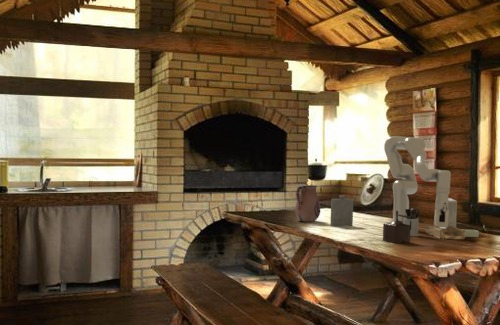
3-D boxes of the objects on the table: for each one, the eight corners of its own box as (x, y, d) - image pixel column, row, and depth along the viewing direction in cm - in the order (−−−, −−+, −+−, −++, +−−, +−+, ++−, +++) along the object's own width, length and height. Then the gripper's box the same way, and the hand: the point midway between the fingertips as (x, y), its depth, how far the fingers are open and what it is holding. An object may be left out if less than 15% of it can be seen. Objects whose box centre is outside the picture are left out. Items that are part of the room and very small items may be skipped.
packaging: (456, 233, 348) (457, 201, 348) (445, 232, 349) (446, 200, 349) (449, 228, 378) (450, 198, 378) (439, 227, 379) (440, 197, 379)
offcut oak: (445, 238, 326) (445, 234, 326) (441, 237, 331) (441, 233, 331) (453, 238, 327) (453, 234, 327) (450, 237, 332) (450, 233, 332)
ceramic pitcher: (324, 221, 395) (325, 185, 395) (310, 223, 377) (311, 186, 377) (301, 219, 404) (302, 184, 404) (287, 221, 387) (288, 185, 386)
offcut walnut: (444, 234, 327) (444, 231, 327) (443, 233, 331) (443, 230, 331) (451, 234, 326) (452, 231, 326) (451, 233, 330) (451, 230, 330)
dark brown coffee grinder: (396, 243, 295) (397, 209, 295) (382, 240, 305) (383, 207, 305) (418, 242, 303) (419, 208, 303) (403, 239, 312) (404, 206, 312)
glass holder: (421, 235, 332) (422, 210, 332) (408, 237, 323) (409, 210, 323) (408, 233, 339) (409, 208, 339) (395, 235, 329) (395, 209, 329)
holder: (458, 236, 333) (458, 230, 333) (453, 234, 340) (453, 229, 340) (479, 237, 333) (479, 231, 333) (474, 235, 340) (474, 229, 340)
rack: (439, 238, 321) (440, 229, 321) (425, 232, 347) (426, 224, 347) (464, 239, 321) (464, 230, 321) (448, 233, 347) (448, 225, 347)
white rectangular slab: (435, 226, 338) (436, 209, 337) (433, 226, 340) (434, 209, 340) (447, 227, 338) (448, 210, 337) (446, 226, 340) (447, 210, 340)
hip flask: (331, 226, 366) (332, 195, 366) (328, 225, 370) (329, 195, 370) (353, 226, 372) (354, 195, 371) (350, 225, 375) (351, 195, 375)
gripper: (432, 189, 346) (430, 219, 347) (441, 191, 330) (439, 223, 331) (444, 190, 346) (442, 220, 347) (454, 192, 330) (452, 223, 331)
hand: (441, 221), depth 339 cm, fingers closed on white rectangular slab, 2 cm apart
